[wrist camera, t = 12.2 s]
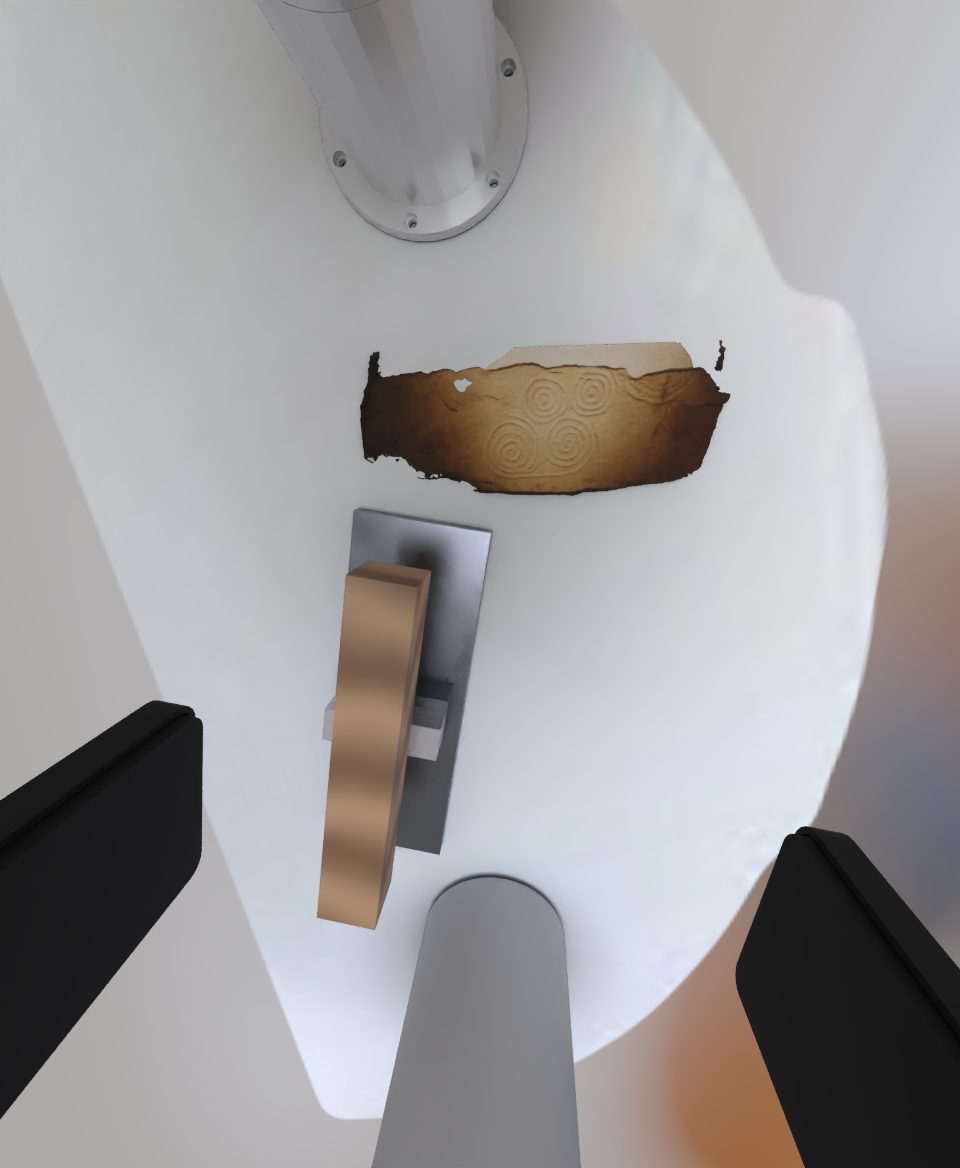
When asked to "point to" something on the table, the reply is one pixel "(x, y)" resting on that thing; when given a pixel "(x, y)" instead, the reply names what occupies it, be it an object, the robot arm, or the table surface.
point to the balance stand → (429, 654)
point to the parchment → (550, 418)
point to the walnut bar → (370, 737)
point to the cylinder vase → (485, 1039)
